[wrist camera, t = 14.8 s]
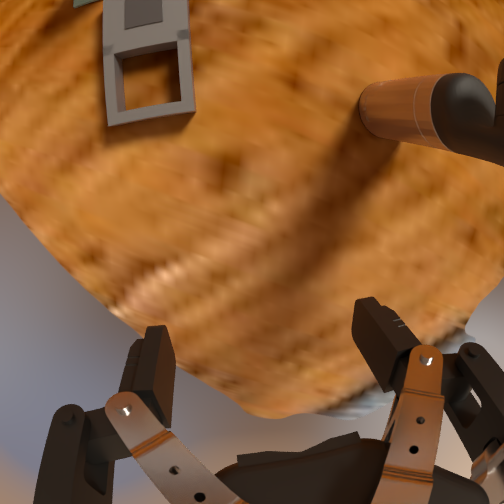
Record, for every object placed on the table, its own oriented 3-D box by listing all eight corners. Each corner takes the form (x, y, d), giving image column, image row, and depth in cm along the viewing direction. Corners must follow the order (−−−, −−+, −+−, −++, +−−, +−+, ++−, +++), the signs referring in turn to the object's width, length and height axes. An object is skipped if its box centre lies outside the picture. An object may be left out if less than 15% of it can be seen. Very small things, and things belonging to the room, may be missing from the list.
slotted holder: (188, -15, 29) (186, -27, 26) (196, 112, 38) (194, 110, 34) (111, 1, 28) (103, -9, 25) (117, 125, 37) (107, 126, 33)
